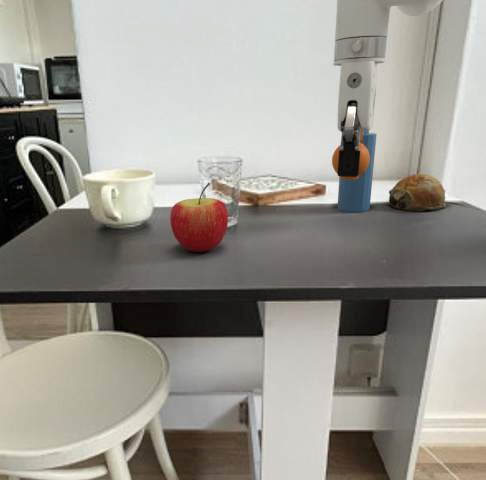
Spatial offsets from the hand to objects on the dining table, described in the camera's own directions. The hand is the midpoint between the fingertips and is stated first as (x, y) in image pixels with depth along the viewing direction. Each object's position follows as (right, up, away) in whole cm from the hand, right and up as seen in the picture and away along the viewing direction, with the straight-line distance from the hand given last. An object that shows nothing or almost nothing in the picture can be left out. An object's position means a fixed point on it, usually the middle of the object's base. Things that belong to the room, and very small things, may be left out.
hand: (349, 172), depth 73 cm
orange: (0, -1, 0) cm, 1 cm away
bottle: (+5, -4, +13) cm, 14 cm away
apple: (-25, -14, -7) cm, 29 cm away
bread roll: (+17, -4, +12) cm, 21 cm away
